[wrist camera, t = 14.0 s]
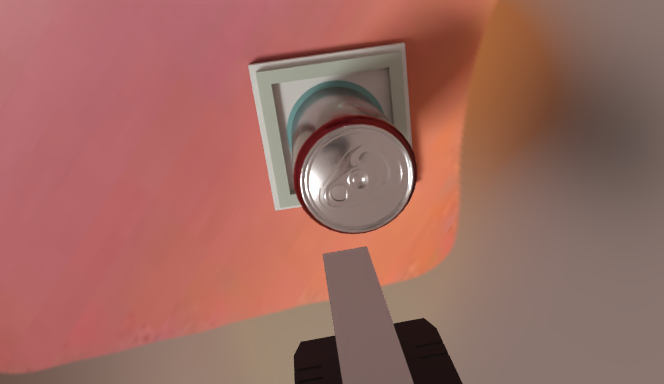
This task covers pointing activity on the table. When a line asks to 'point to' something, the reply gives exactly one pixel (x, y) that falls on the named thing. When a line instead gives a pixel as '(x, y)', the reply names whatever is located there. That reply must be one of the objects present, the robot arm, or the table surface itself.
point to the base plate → (312, 76)
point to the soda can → (350, 162)
